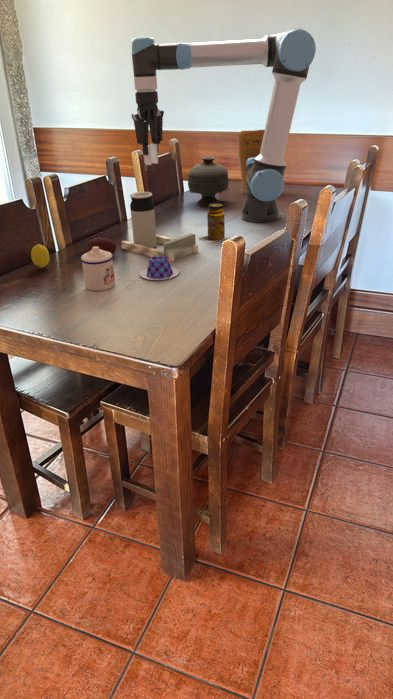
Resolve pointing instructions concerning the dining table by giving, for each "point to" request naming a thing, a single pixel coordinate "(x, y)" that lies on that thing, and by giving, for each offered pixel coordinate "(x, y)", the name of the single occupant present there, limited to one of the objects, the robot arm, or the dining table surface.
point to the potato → (102, 244)
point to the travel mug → (143, 219)
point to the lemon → (40, 255)
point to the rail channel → (166, 247)
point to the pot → (208, 180)
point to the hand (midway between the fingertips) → (151, 163)
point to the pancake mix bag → (248, 149)
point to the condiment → (215, 224)
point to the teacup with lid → (98, 269)
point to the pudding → (159, 269)
